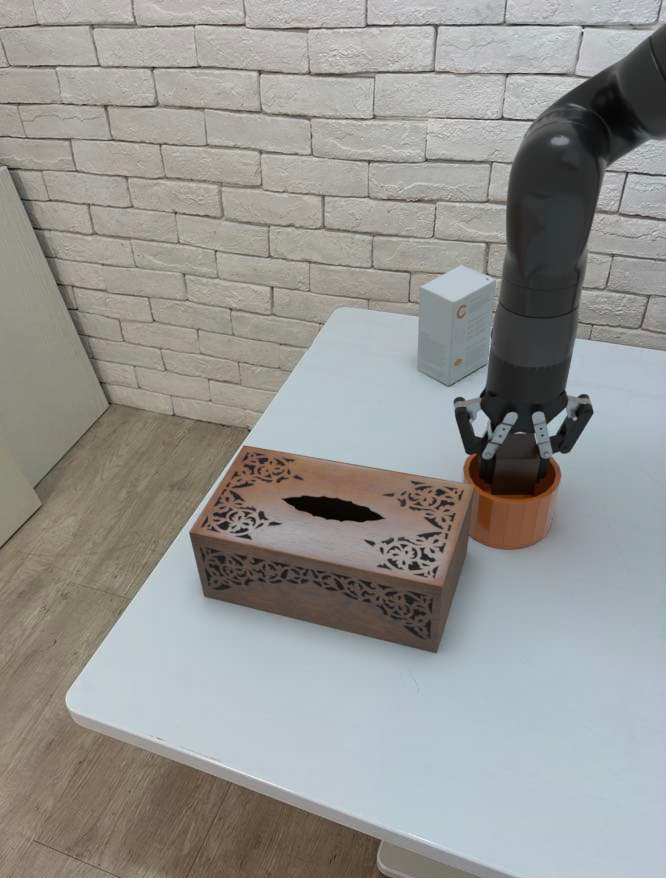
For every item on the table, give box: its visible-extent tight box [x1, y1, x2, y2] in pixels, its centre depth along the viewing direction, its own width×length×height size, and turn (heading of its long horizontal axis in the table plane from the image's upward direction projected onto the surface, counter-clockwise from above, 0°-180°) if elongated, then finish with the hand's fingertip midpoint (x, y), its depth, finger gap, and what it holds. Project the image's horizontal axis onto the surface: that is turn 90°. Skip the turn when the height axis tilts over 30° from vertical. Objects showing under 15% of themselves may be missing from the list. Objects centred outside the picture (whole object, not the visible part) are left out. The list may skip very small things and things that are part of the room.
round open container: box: [461, 454, 563, 550], centre depth 89 cm, size 10×10×7 cm
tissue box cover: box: [188, 444, 475, 654], centre depth 85 cm, size 26×14×10 cm, turn 68°
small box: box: [416, 264, 497, 387], centre depth 109 cm, size 8×6×13 cm
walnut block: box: [490, 432, 540, 495], centre depth 86 cm, size 4×4×5 cm
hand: (510, 478), depth 88 cm, fingers closed on walnut block, 4 cm apart
